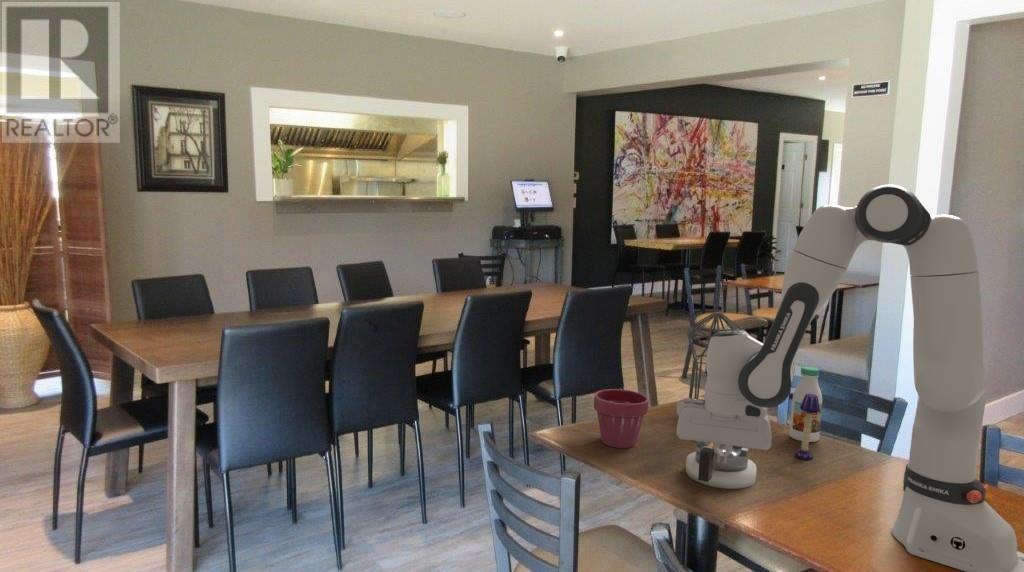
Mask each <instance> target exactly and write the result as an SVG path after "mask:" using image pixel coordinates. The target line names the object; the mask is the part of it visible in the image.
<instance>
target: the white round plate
mask: <svg viewBox="0 0 1024 572" xmlns="http://www.w3.org/2000/svg"><path fill="white" fill-rule="evenodd" d="M695 455H696V451H694V452H691V453H689V454H688V455H687V456H686V462H685V463H686V464H685V473H686V475H687V476H688V477H689V478H691V479H692V480H694V481H696V482H698V483H700V484H703V485H706V486H709V487H713V488H719V489H727V490H728V489H731V490H734V489H735V490H738V489H745V488H749V487H751V486H753V485H754V484H755V483H756V479H757V467H758V466H757V465H756V464H755V462H753V461H752V460H751V459H750V458H748V467H747V468H746V469H745V470H742V471H737V472H724V471H717V470H715V472H714V473H713V474H712V478H711V479H710V480H709V482H705V481H701V480H698V475H699V464H698V463H697V462H696V460H695Z"/></svg>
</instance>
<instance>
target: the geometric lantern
mask: <svg viewBox="0 0 1024 572" xmlns="http://www.w3.org/2000/svg"><path fill="white" fill-rule="evenodd" d="M711 320H712V322H711V325H710V327H709V328H708V327H705V326H706V325H707V324H708V323H709V322H710V321H711ZM724 323H725V324H726V325H727V327H729V328H727V329H726V328H725V325H724ZM720 325H721V328H722V331H724V330H733V329H738V330H743V331H746V330H745V329H744V328H742V327H741V326H740V325H739V324H738V323H736V322H734V321H733V320H732V319H730V318H729V317H728V316H727V315H725V313H723V312H720V311H717V312H715V311H714V312H712V313H711V314H709V315H707V316H705V317H704V318H701V319H700V320H698V321H696V322H695V323H693V324H691V325H689V326H688V332H687V333H686V335H687V338H688V341H689V344H690V349H691V355H692V358H693V361H692V368H691V375H690V384H689V392H688V398H690V399H699V395H700V385H701V377H702V367H703V365H706V363H707V362H705V361H704V362H703V357H705V358H707V354H705V353H706V352H707V351H708V346H709V342H710V339H711V337H712V336H713V335H715V334H716V333H718V332H720V331H721V330H720ZM716 328H717V330H716ZM703 330H704V331H708V333H706V332H704V331H703ZM698 332H699V333H701V334H699V333H698ZM712 332H713V335H711V333H712ZM699 337H701V338H706V340H707V344H706V343H705V342H704V341H702V340H701V339H700V338H699ZM693 338H694V339H695V340H697V341H698V342H700V343H701V344H702V345H703V346H704V347H705V349H704V350H703V351H702V352H701V353H700V354H697V353H696V349H695V346H694V344H693ZM699 359H700V361H699ZM693 394H694V396H693ZM693 397H694V398H693Z"/></svg>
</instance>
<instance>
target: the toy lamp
mask: <svg viewBox="0 0 1024 572" xmlns="http://www.w3.org/2000/svg"><path fill="white" fill-rule="evenodd" d="M800 409H801V410H803V411H805V414H806V416H805V422H804V429H803V432H804V433H803V436H802V437H803V439H802V441H801V445H800V449H798V450H796V452H795V453H794V458H795V457H796V458H797V459H799V460H802V459H803V460H804V461H810V460H811V459H812V460H813V458H814V457H813V454H812V453H811V452H810V451H809V444H810V442H809V438H810V432H811V429H810V428H811V422H812V415H813V413H818V412H819V411H820V408H819V401H818V396H817V395H814V394H806V395H805V396H804V398H803V401H802V403H801V406H800Z"/></svg>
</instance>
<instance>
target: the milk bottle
mask: <svg viewBox="0 0 1024 572" xmlns="http://www.w3.org/2000/svg"><path fill="white" fill-rule="evenodd" d="M800 368H801V369H800V376H801V378H800V379H799V383H798V384H797V385H796V388H795V389H794V391H793V395H792V400H791V401H792V402H791V411H790V422H789V437H790V438H792V439H794V440H796V441H799V442H802V439H803V437H802V436H803V433H804V432H803V429H804V422H805V416H806V414H805V411H803V410H801V409H800V406H801V403H802V401H803V398H804V396H805V395H806V394H814V395H817V396H818V401H819V408H820V411H819V412H818V413H813V415H812V422H811V428H810V429H811V432H810V438H809V443H815V442H818V441H819V440H820V434H821V433H820V432H821V423H822V411H823V395H822V391H821V388H820V385H819V381H818V378H819V375H820V369H819V368H817V367H814V366H802V367H800Z"/></svg>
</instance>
